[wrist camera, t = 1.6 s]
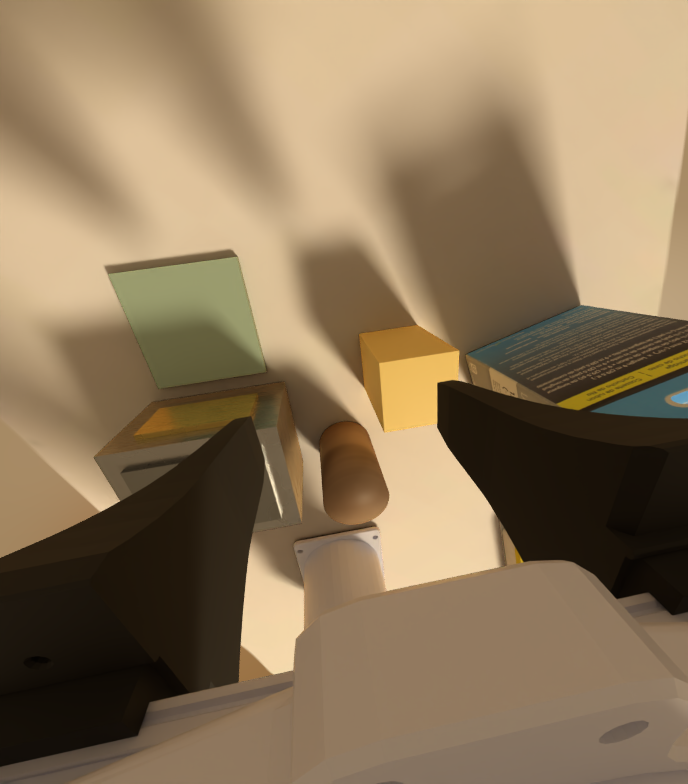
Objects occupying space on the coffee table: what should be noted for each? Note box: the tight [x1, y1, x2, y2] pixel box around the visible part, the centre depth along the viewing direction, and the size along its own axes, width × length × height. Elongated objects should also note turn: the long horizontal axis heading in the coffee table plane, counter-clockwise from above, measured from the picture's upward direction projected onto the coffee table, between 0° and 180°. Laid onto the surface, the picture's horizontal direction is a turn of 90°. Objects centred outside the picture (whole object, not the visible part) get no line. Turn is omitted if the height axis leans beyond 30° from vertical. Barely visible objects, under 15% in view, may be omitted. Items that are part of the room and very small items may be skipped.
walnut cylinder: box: [319, 421, 389, 525], centre depth 20 cm, size 4×4×6 cm
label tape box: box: [466, 305, 688, 418], centre depth 16 cm, size 9×4×12 cm, turn 112°
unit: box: [94, 381, 303, 533], centre depth 19 cm, size 7×9×6 cm
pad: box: [108, 257, 267, 389], centre depth 18 cm, size 7×7×1 cm
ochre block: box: [359, 325, 459, 433], centre depth 18 cm, size 4×4×6 cm
